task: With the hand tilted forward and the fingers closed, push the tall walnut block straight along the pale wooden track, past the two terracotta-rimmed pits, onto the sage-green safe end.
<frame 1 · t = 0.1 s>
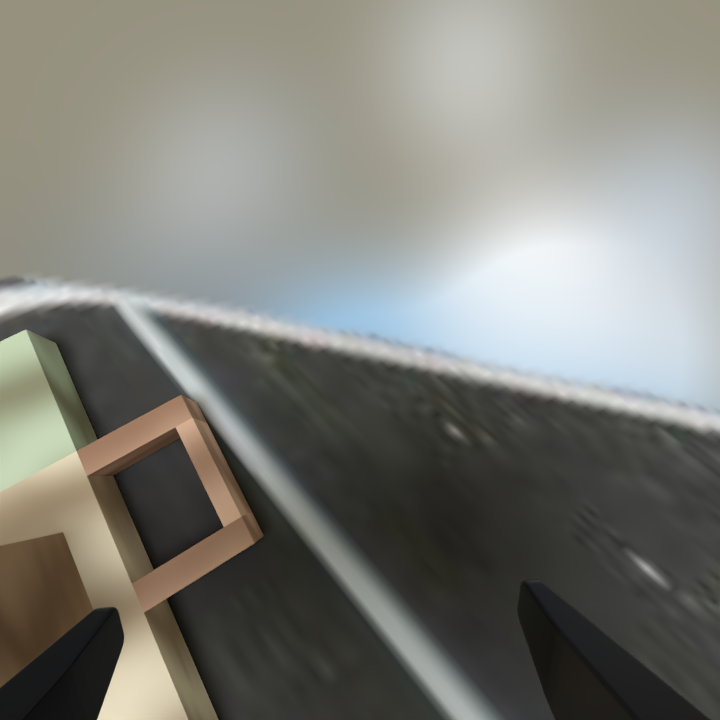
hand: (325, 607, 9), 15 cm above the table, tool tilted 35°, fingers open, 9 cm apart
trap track: (49, 581, 22), on the table
walnut block: (23, 624, 19), point 2 cm above the table, touching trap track
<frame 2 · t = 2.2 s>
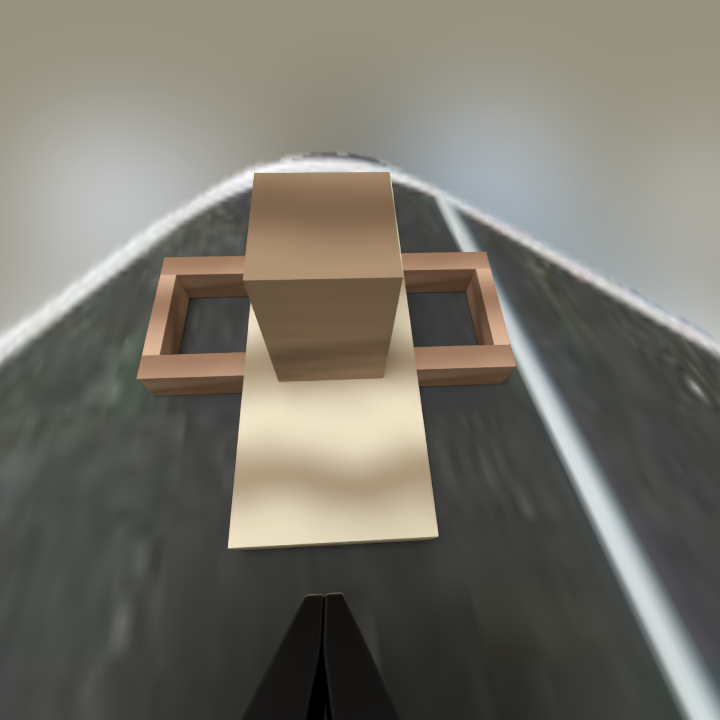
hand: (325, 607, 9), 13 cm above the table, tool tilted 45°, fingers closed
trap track: (331, 335, 27), on the table
walnut block: (330, 335, 24), point 2 cm above the table, touching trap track
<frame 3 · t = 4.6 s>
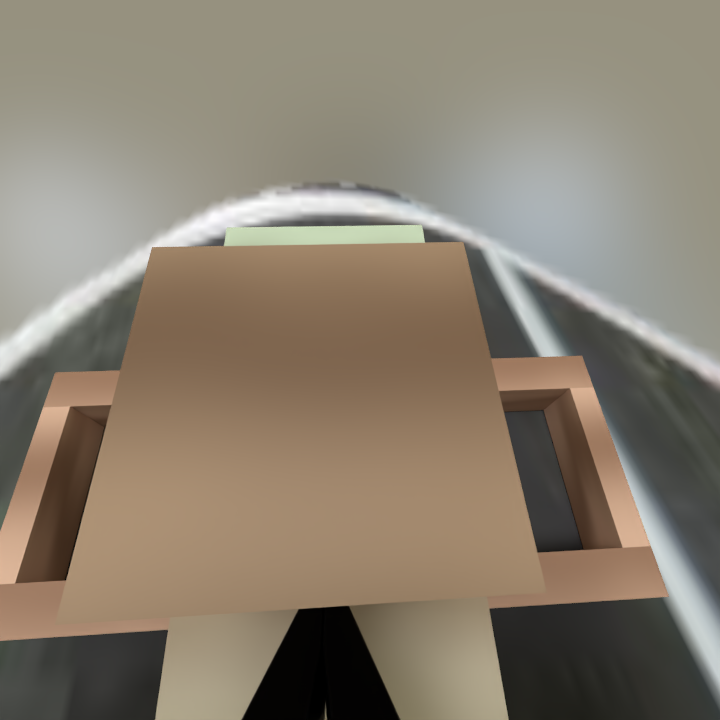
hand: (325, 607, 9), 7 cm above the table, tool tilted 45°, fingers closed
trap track: (331, 498, 17), on the table
walnut block: (329, 490, 14), point 3 cm above the table
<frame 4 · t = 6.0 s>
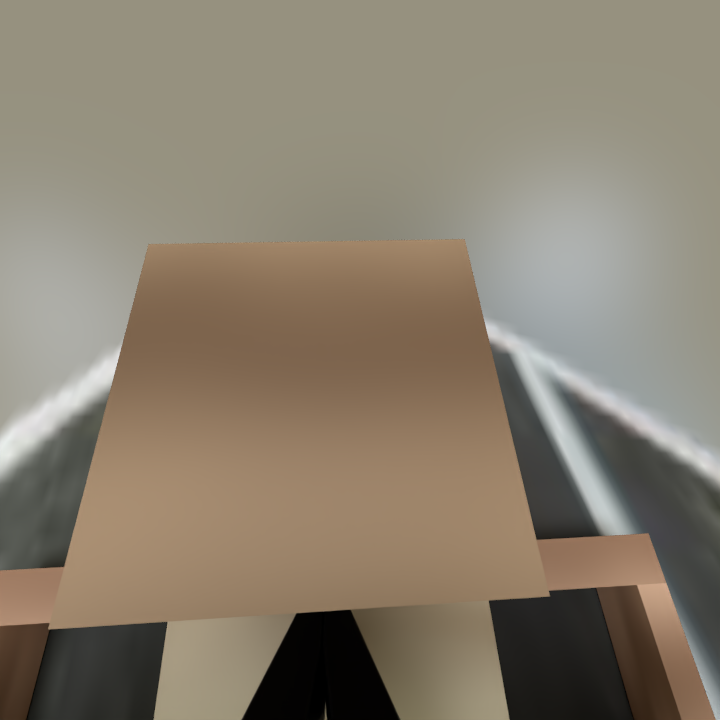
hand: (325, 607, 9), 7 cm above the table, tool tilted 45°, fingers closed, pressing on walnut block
walnut block: (329, 489, 14), point 3 cm above the table, touching gripper
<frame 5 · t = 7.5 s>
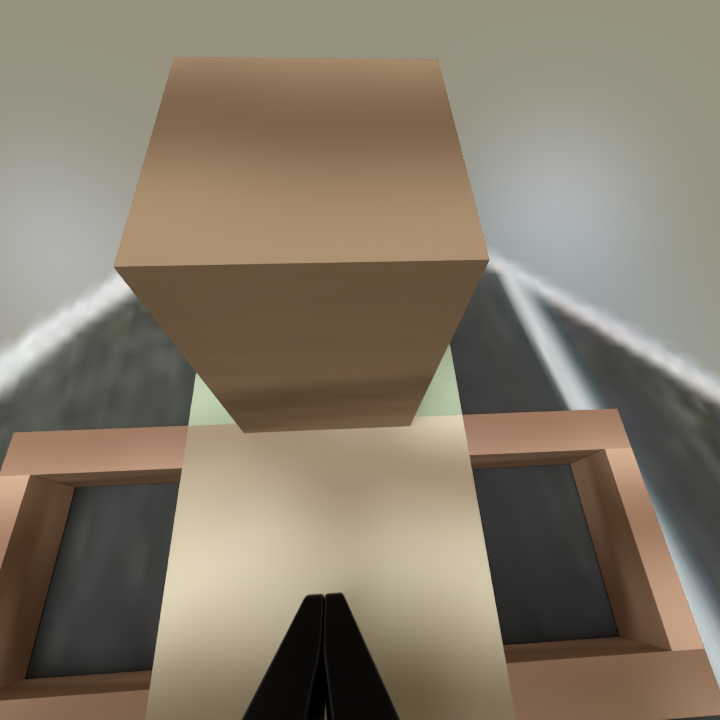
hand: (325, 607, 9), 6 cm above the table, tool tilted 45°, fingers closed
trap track: (332, 573, 15), on the table
walnut block: (326, 356, 16), point 2 cm above the table, touching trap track
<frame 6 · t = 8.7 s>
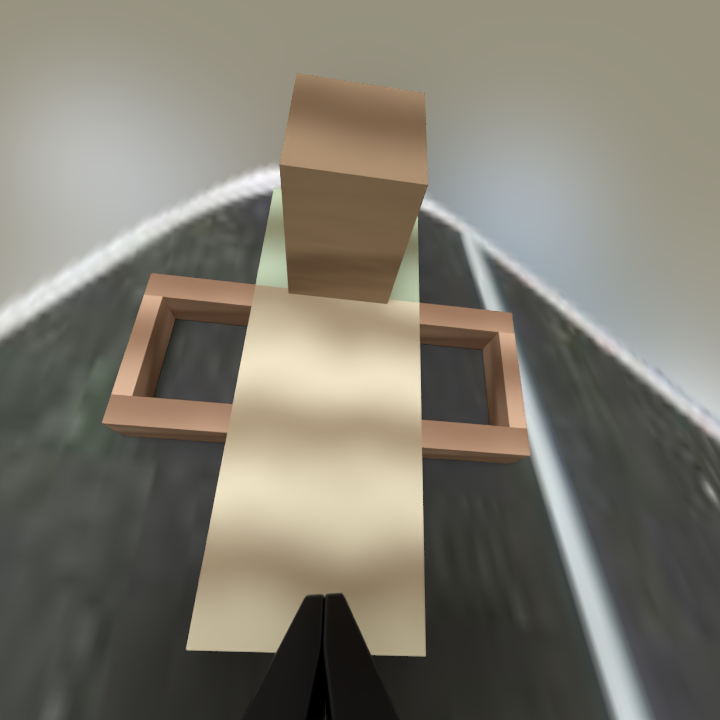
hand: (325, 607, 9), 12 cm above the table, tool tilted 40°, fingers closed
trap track: (330, 385, 24), on the table
walnut block: (341, 259, 25), point 2 cm above the table, touching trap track
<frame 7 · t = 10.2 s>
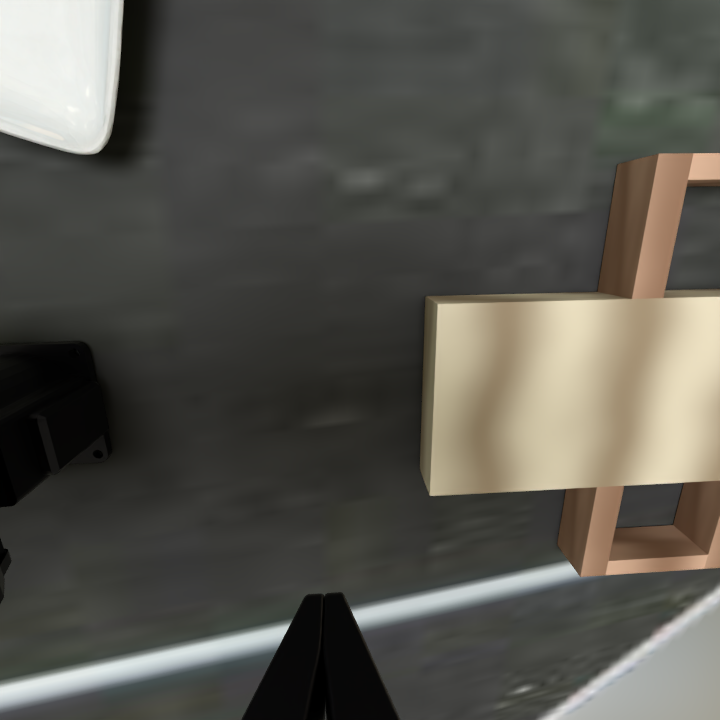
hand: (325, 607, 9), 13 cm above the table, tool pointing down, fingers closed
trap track: (652, 379, 22), on the table
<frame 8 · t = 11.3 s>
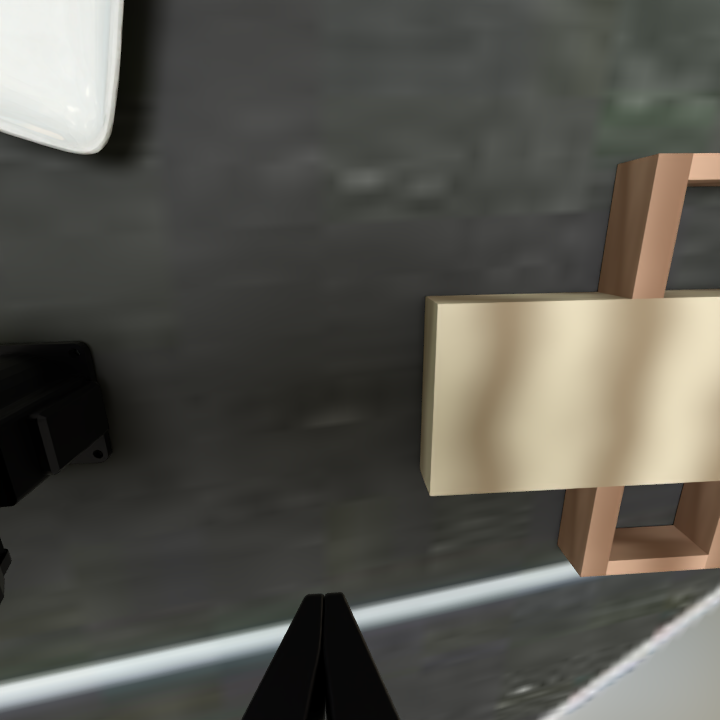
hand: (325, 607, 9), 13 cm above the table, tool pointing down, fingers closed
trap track: (652, 379, 22), on the table
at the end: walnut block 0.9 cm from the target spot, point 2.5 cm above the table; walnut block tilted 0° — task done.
